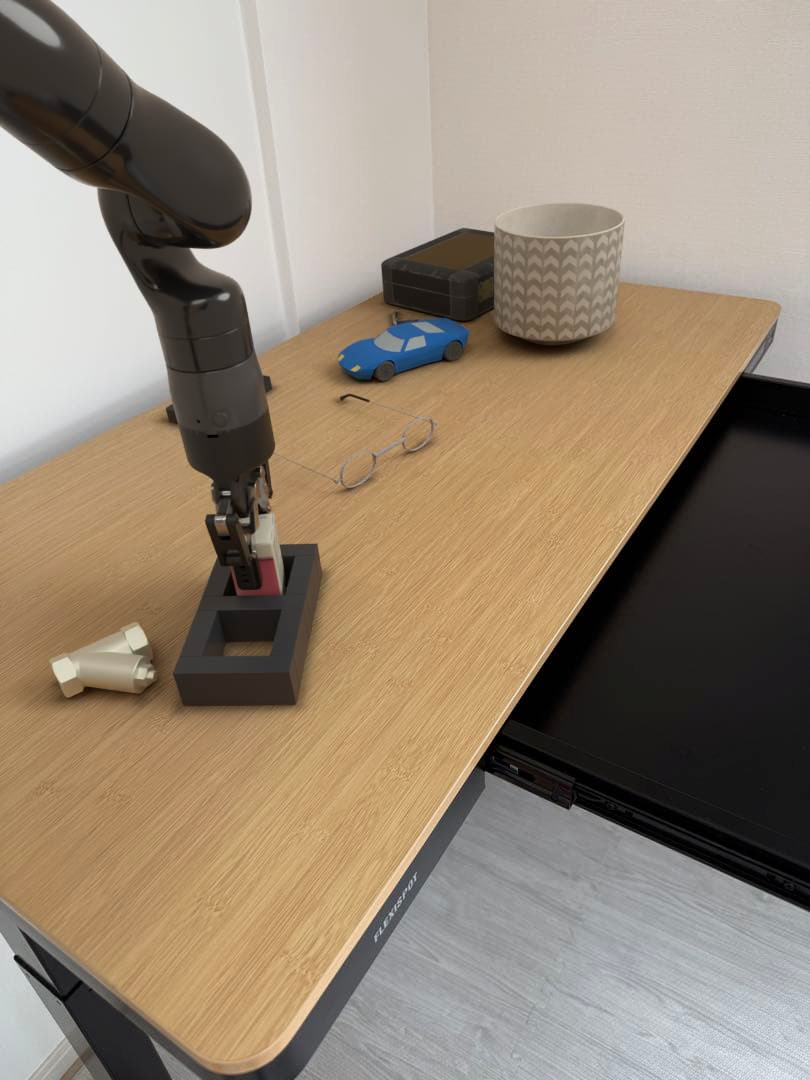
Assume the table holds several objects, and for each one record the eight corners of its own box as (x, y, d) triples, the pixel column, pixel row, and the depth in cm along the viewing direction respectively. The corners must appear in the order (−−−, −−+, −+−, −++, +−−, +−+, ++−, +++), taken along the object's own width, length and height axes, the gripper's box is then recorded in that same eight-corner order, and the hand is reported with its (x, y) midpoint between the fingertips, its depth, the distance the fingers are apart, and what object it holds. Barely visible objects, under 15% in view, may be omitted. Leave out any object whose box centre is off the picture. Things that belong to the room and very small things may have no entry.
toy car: (330, 369, 123) (326, 338, 120) (441, 337, 131) (440, 307, 128) (358, 390, 116) (355, 358, 113) (474, 355, 124) (473, 324, 121)
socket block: (296, 704, 68) (289, 672, 65) (183, 706, 68) (172, 673, 66) (322, 573, 82) (317, 542, 80) (228, 576, 83) (221, 545, 80)
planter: (632, 351, 121) (645, 228, 110) (511, 366, 120) (513, 243, 109) (589, 308, 136) (598, 197, 126) (482, 321, 135) (481, 209, 124)
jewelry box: (460, 265, 160) (459, 225, 156) (546, 281, 149) (548, 239, 144) (378, 303, 145) (374, 260, 141) (466, 324, 134) (465, 279, 130)
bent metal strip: (426, 314, 136) (407, 323, 133) (427, 322, 136) (407, 331, 134) (395, 307, 140) (376, 315, 137) (396, 315, 141) (376, 323, 138)
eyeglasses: (341, 498, 93) (336, 469, 91) (243, 453, 104) (237, 426, 102) (441, 437, 103) (439, 409, 101) (342, 403, 115) (338, 377, 112)
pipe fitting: (170, 688, 71) (143, 642, 75) (160, 659, 68) (133, 614, 72) (81, 731, 67) (58, 681, 72) (67, 702, 65) (45, 652, 69)
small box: (243, 581, 79) (228, 516, 75) (286, 576, 79) (274, 511, 75) (240, 614, 75) (223, 547, 70) (285, 609, 75) (272, 542, 71)
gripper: (199, 371, 71) (234, 525, 81) (151, 451, 60) (199, 619, 70) (281, 368, 71) (307, 523, 81) (248, 448, 59) (283, 617, 69)
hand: (257, 566), depth 75 cm, fingers closed on small box, 5 cm apart
